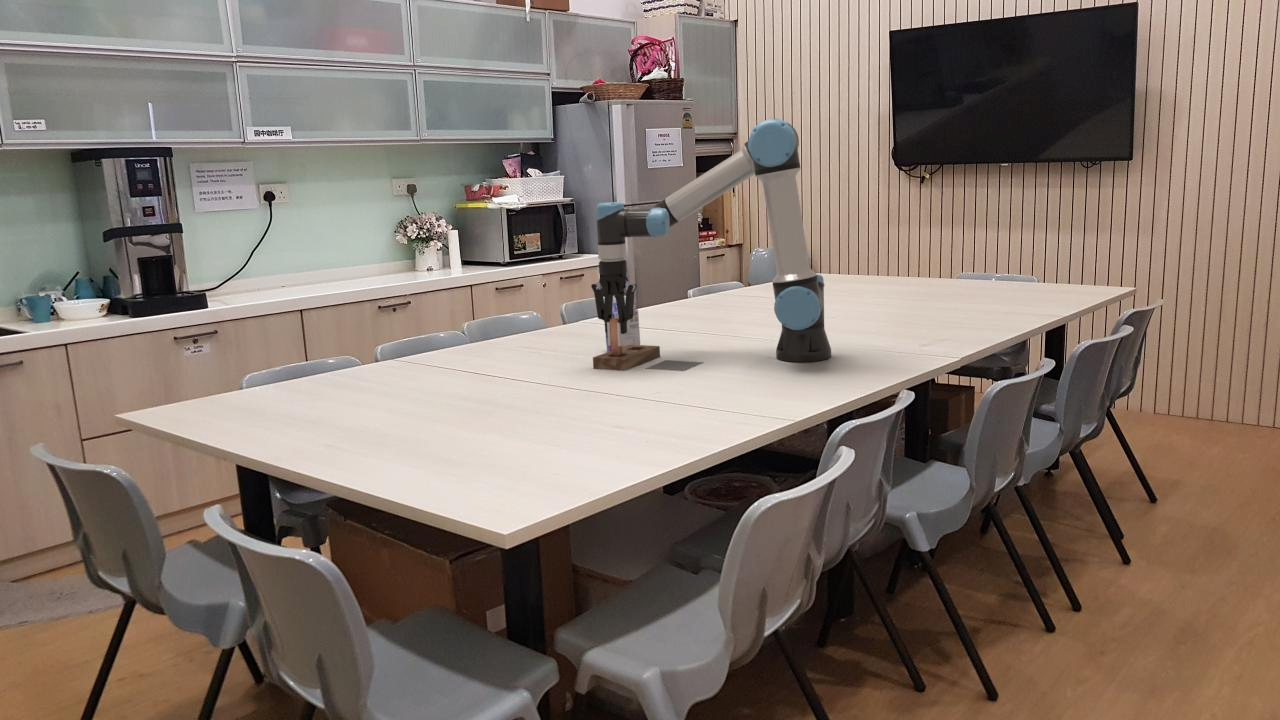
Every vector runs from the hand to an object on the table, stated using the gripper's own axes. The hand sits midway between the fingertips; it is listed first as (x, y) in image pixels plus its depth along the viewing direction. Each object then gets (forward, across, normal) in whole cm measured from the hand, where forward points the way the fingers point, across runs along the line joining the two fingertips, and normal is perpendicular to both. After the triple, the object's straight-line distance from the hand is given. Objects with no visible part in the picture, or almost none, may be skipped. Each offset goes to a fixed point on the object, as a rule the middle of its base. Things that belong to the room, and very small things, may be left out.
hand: (616, 344), depth 274 cm
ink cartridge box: (+7, +12, -23) cm, 27 cm away
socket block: (+6, 0, -5) cm, 8 cm away
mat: (+6, -15, -5) cm, 17 cm away
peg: (+3, 0, 0) cm, 3 cm away
